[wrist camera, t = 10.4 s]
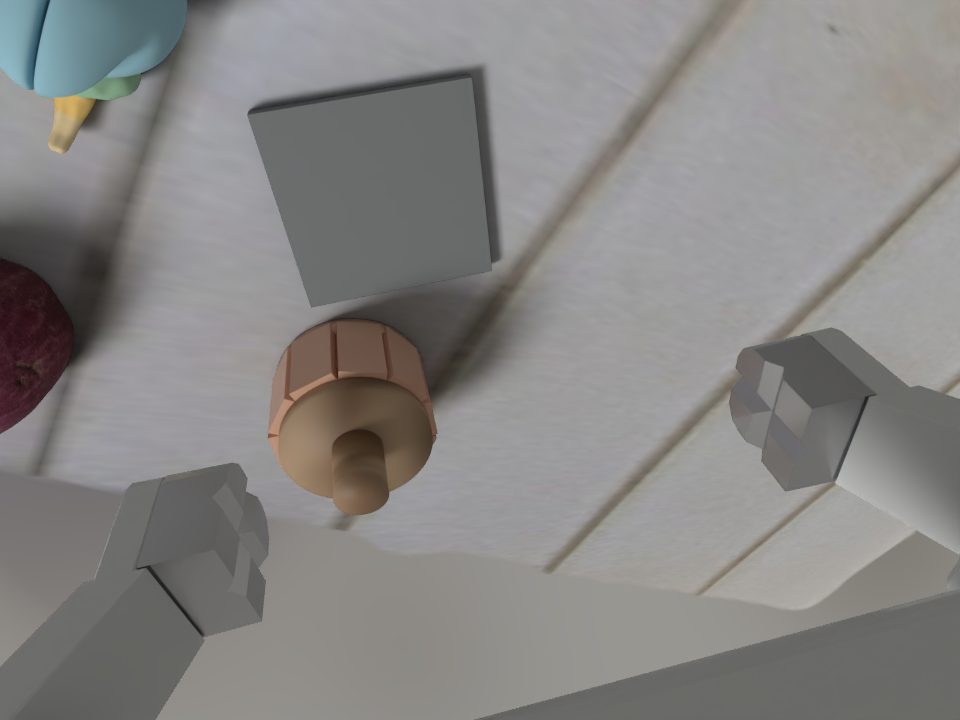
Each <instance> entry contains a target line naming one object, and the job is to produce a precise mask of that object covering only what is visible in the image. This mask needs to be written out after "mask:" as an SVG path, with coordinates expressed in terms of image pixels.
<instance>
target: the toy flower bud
mask: <svg viewBox="0 0 960 720" xmlns="http://www.w3.org/2000/svg"><path fill="white" fill-rule="evenodd" d="M186 17H187V0H0V67H1V69H2V70H3V71H4V72H5V73H6V74H7V75H8V76H9V77H10V78H11V79H12V80H13V81H15V82H16V83H17V84H18V85H20V86H21V87H23V88H25V89H27V90H33V89H35V92H36V93H37V94H38V95H40V96H44V97H51V98H54V103H55V116H54V123H53V128H52V132H51V135H50V138H49V142H48V145H49V148H50V149H51V150H53V151H56V152H58V153H65V152H67V150H68V149H69V148H70V146H71V144H72V143H73V141H74V139H75V137H76V135H77V133H78V131H79V129H80V126H81V125H82V123H83V121H84V120H85V118H86V117H87V115H88V114H89V112H90V111H91V109H92V107H93V105H94V103H95V101H96V99H102V100H113V99H116V98H119V97H123V96H127V95H130V94H132V93H133V92H134V91H135V90H136V89H137V88H138V86H139V84H140V81H141V73H142V72H145V71H147V70H149V69H151V68H153V67H155V66H156V65H158V64H159V63H160V62H162V61H163V60H164V59H165V58H166V57H167V56H168V55H169V53H170V52H171V51H172V50H173V48H174V47H175V45H176V44H177V42H178V40H179V38H180V36H181V34H182V32H183V29H184V26H185V22H186Z"/></svg>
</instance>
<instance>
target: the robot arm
mask: <svg viewBox="0 0 960 720" xmlns="http://www.w3.org/2000/svg"><path fill="white" fill-rule="evenodd" d="M736 369H737V370H738V371H739V373H740V374H741V375H742V377H741V378H740V379H739V380H738V381H737V383H736V384H735V385H734V386H733V387H732V389H731V395H730V402H729V405H730V410H731V415H732V419H733V421H734V424H735V426H736V428H737V430H738V431H739V433H740V434H741V435H742V437H743V438H744V439H745V441H746V442H748V443H750V444H752V445H755V446H757V447H759V448H761V449H762V459H761V461H762V463H763V464H764V465H765V466H766V468H767V469H768V470H769V471H770V473H771V474H772V475H773V477H774V478H775V479H776V480H777V482H778V483H779V484H780V485H781V487H782V488H783V489H784V491H785V492H786V491H790V490H795V489H800V488H804V487H809V486H813V485H818V484H822V483H827V482H832V481H836V482H835V483H836V484H837V485H839V486H841V487H843V488H844V489H846V490H848V491H849V492H851V493H853V494H855V495H856V496H858V497H860V498H862V499H863V500H865V501H867V502H869V503H870V504H872V505H874V506H875V507H877V508H879V509H881V510H882V511H884V512H886V513H888V514H889V515H891V516H893V517H895V518H896V519H898V520H900V521H901V522H903V523H905V524H907V525H908V526H910V527H912V528H914V529H915V530H917V531H919V532H921V533H922V534H924V535H926V536H928V537H929V538H931V539H933V540H934V541H936V542H938V543H940V544H941V545H943V546H945V547H947V548H948V549H950V550H952V551H954V552H955V553H957V554H959V555H960V399H958V398H955V397H952V396H949V395H946V394H943V393H940V392H937V391H934V390H931V389H928V388H925V387H922V386H914V387H909V386H907V385H906V384H905V383H904V382H903V381H901V380H900V379H899V378H898V377H897V376H895V375H894V374H893V373H892V372H890V371H889V370H888V369H887V368H886V367H884V366H883V365H882V364H881V363H880V362H878V361H877V360H876V359H875V358H874V357H872V356H871V355H870V354H869V353H867V352H866V351H865V350H864V349H863V348H861V347H860V346H859V345H858V344H857V343H855V342H854V341H853V340H852V339H851V338H849V337H848V336H847V335H846V334H844V333H843V332H842V331H840V330H838V329H834V328H827V329H823V330H819V331H814V332H810V333H806V334H802V335H801V336H794V337H790V338H786V339H781V340H777V341H773V342H769V343H764V344H760V345H756V346H751V347H747V348H744V349H743V350H742V351H741V353H740V354H739V355H738V359H737V364H736ZM246 486H247V477H246V475H245V473H244V472H243V470H242V468H241V467H240V465H239V464H237V463H229V464H223V465H218V466H213V467H208V468H203V469H198V470H193V471H188V472H183V473H178V474H173V475H168V476H166V477H163V478H158V479H152V480H147V481H142V482H137V483H132V484H131V485H130V486H129V487H128V488H127V489H126V490H125V492H124V494H123V497H122V500H121V503H120V506H119V509H118V512H117V515H116V518H115V520H114V524H113V526H112V529H111V532H110V535H109V538H108V541H107V544H106V547H105V550H104V552H103V555H102V558H101V561H100V564H99V567H98V570H97V572H96V576H95V578H94V580H92V581H87V582H84V583H82V584H81V585H80V586H79V587H78V588H77V589H76V590H75V591H74V592H73V593H72V594H71V595H70V596H69V597H68V599H66V600H65V601H64V602H63V604H61V606H60V607H59V608H58V609H57V610H56V611H55V612H54V613H53V614H52V615H51V616H50V617H49V618H48V619H47V620H46V621H45V622H44V623H43V624H42V625H41V626H40V627H39V628H38V629H37V630H36V631H35V632H34V633H33V634H32V635H31V636H30V637H29V638H28V639H27V640H26V641H25V642H24V643H23V644H22V645H21V646H20V647H19V648H18V649H17V650H16V651H15V652H14V653H13V654H12V656H10V658H8V660H7V661H6V662H5V663H4V664H3V665H2V666H1V667H0V720H155V719H156V718H157V716H158V715H159V713H160V711H161V710H162V708H163V706H164V705H165V703H166V702H167V700H168V699H169V697H170V695H171V694H172V692H173V691H174V689H175V687H176V686H177V684H178V683H179V681H180V679H181V678H182V676H183V675H184V673H185V671H186V670H187V668H188V666H189V665H190V663H191V662H192V660H193V658H194V657H195V655H196V654H197V652H198V650H199V649H200V647H201V646H202V644H203V642H204V638H203V637H206V636H210V635H214V634H217V633H221V632H225V631H228V630H232V629H235V628H239V627H243V626H246V625H250V624H254V623H257V622H261V621H262V615H263V605H264V594H265V584H266V581H265V579H264V577H263V575H262V574H261V572H260V570H259V569H258V568H259V567H260V565H261V564H262V563H263V561H264V560H265V559H266V557H267V556H268V548H269V534H268V526H267V519H266V516H265V512H264V509H263V507H262V505H261V503H260V501H259V499H258V497H256V496H254V495H252V494H250V493H248V492H246ZM946 586H947V587H948V588H949V590H950V591H949V592H945V593H941V594H938V595H934V596H930V597H927V598H923V599H919V600H915V601H912V602H908V603H905V604H901V605H897V606H893V607H890V608H886V609H882V610H878V611H875V612H871V613H867V614H863V615H860V616H856V617H852V618H849V619H845V620H841V621H838V622H834V623H830V624H826V625H823V626H819V627H815V628H812V629H808V630H804V631H801V632H797V633H793V634H790V635H786V636H782V637H778V638H775V639H771V640H768V641H764V642H760V643H756V644H753V645H749V646H745V647H741V648H738V649H734V650H730V651H726V652H723V653H719V654H715V655H712V656H708V657H704V658H701V659H697V660H693V661H690V662H686V663H682V664H678V665H675V666H671V667H667V668H663V669H660V670H656V671H653V672H649V673H645V674H641V675H638V676H634V677H630V678H627V679H623V680H619V681H616V682H612V683H608V684H604V685H601V686H597V687H593V688H590V689H586V690H582V691H578V692H575V693H572V694H568V695H564V696H560V697H556V698H553V699H549V700H546V701H542V702H538V703H535V704H531V705H527V706H523V707H519V708H516V709H512V710H508V711H505V712H501V713H497V714H493V715H490V716H486V717H482V718H479V719H475V720H960V559H959V560H958V562H957V563H956V565H955V566H954V568H953V569H952V571H951V572H950V574H949V575H948V577H947V583H946Z"/></svg>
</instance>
